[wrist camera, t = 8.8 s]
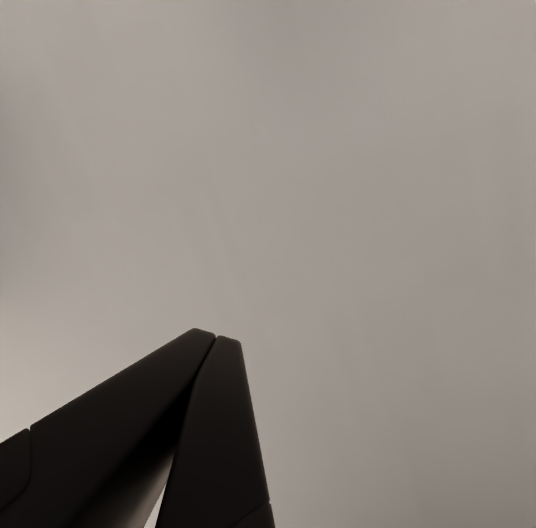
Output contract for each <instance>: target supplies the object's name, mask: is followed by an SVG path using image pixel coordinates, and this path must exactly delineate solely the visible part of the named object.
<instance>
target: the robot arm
mask: <svg viewBox="0 0 536 528" xmlns="http://www.w3.org/2000/svg"><path fill="white" fill-rule="evenodd" d="M166 482H167V484H166ZM165 484H166V487H165V491H164V495H163V499H162V503H161V507H160V510H159V514H158V518H157V522H156V526H155V528H275V523H274V518H273V513H272V507H271V504H270V503H269V501H270V498H269V493H268V487H267V482H266V476H265V471H264V466H263V460H262V455H261V449H260V444H259V439H258V433H257V428H256V422H255V417H254V412H253V406H252V401H251V395H250V390H249V385H248V379H247V374H246V368H245V363H244V358H243V352H242V347H241V343H240V342H239V341H238V340H235V339H231V338H228V337H225V336H217V337H216V336H215V334H214V333H211V332H207V331H204V330H201V329H197V328H193V329H191V330H189V331H187V332H186V333H184V334H182V335H181V336H179V337H177V338H176V339H174V340H172V341H171V342H169V343H167V344H166V345H164V346H162V347H161V348H159V349H157V350H156V351H154V352H152V353H151V354H149V355H147V356H146V357H144V358H142V359H141V360H139V361H137V362H136V363H134V364H132V365H131V366H129V367H127V368H126V369H124V370H122V371H121V372H119V373H117V374H116V375H114V376H112V377H111V378H109V379H107V380H106V381H104V382H102V383H101V384H99V385H97V386H96V387H94V388H92V389H91V390H89V391H87V392H86V393H84V394H82V395H81V396H79V397H77V398H76V399H74V400H72V401H71V402H69V403H67V404H66V405H64V406H62V407H61V408H59V409H57V410H56V411H54V412H52V413H51V414H49V415H47V416H46V417H44V418H42V419H41V420H39V421H37V422H36V423H34V424H32V425H31V426H30V430H29V429H27V428H26V429H24V430H22V431H20V432H19V433H17V434H15V435H14V436H12V437H10V438H9V439H7V440H5V441H4V442H2V443H0V528H144V526H145V524H146V522H147V520H148V518H149V516H150V514H151V512H152V510H153V508H154V506H155V504H156V502H157V500H158V498H159V496H160V494H161V492H162V490H163V488H164V486H165Z"/></svg>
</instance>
